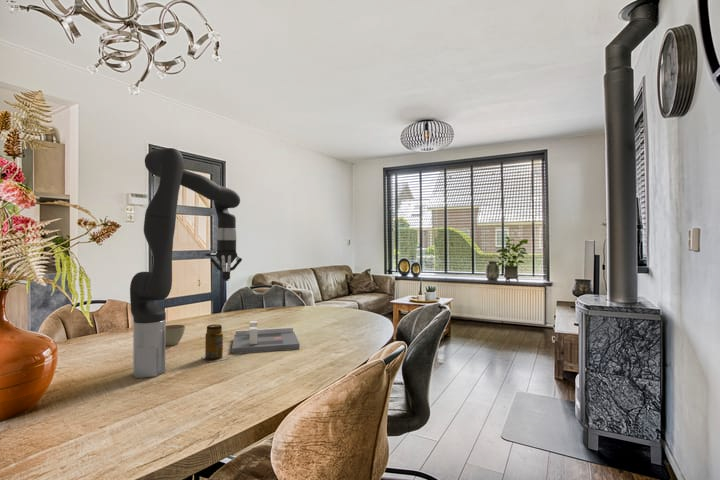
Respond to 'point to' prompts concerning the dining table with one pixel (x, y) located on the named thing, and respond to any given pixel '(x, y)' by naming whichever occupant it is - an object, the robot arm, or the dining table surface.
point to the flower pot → (174, 334)
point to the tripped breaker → (253, 335)
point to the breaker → (253, 323)
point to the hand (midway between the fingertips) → (226, 280)
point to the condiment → (214, 344)
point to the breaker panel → (265, 340)
